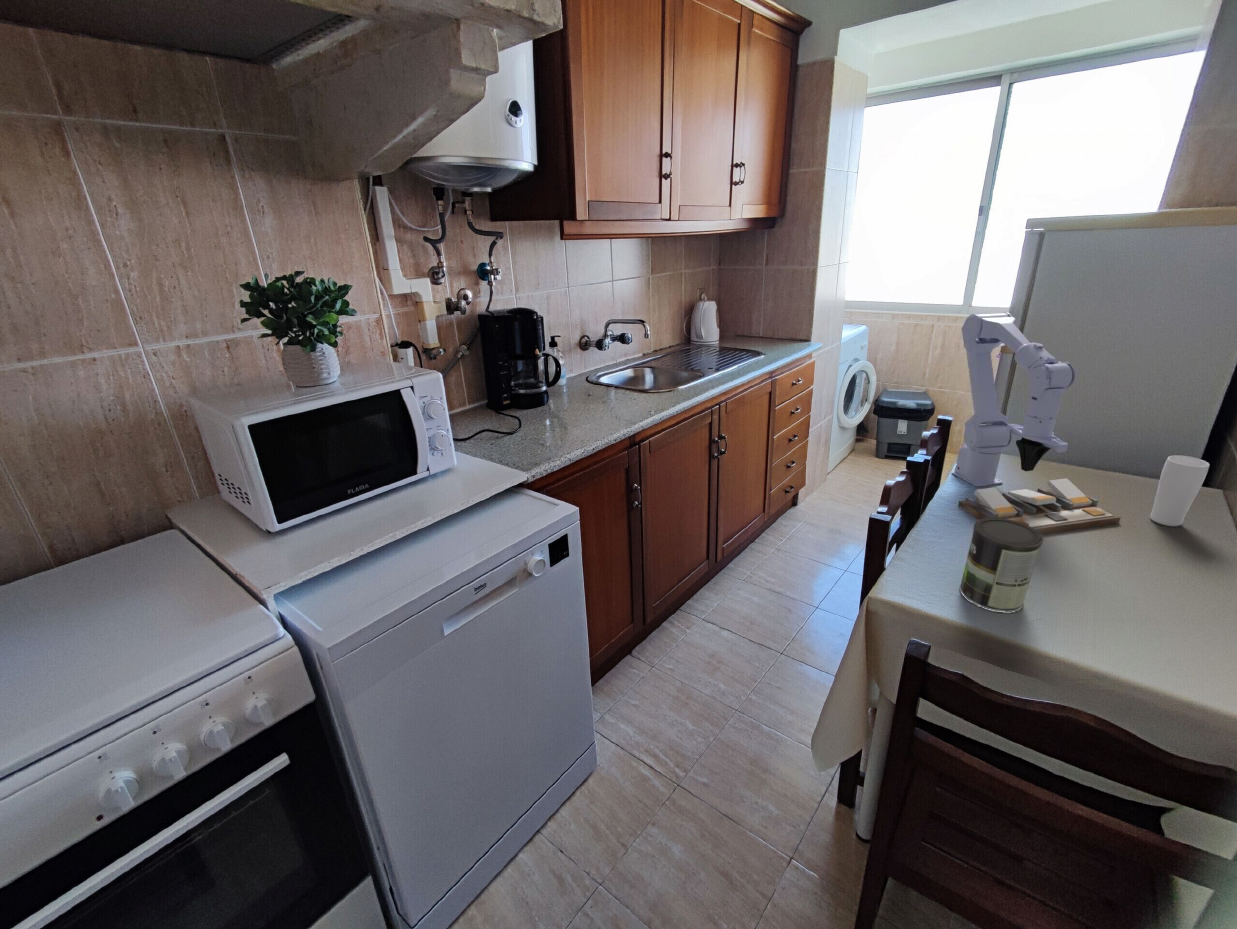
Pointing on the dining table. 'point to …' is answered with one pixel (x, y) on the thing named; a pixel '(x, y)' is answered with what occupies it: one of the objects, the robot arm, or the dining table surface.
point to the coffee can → (1000, 563)
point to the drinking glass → (1178, 488)
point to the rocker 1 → (995, 502)
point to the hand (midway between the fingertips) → (1026, 469)
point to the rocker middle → (1032, 497)
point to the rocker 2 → (1069, 492)
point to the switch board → (1046, 513)
